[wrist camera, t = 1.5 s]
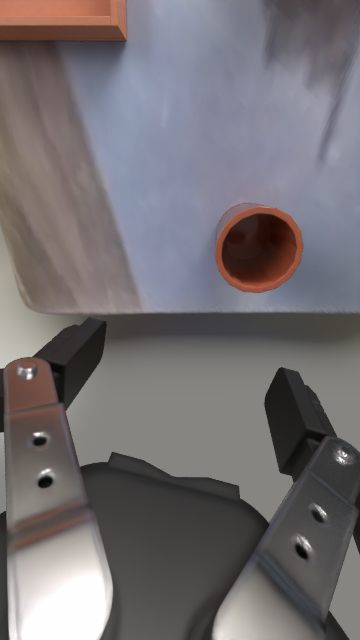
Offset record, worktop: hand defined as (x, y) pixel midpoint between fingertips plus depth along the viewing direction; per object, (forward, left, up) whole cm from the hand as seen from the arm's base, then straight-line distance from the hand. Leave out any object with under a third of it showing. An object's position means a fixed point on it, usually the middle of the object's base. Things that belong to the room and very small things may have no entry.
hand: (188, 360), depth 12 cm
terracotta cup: (+4, +3, -22) cm, 22 cm away
